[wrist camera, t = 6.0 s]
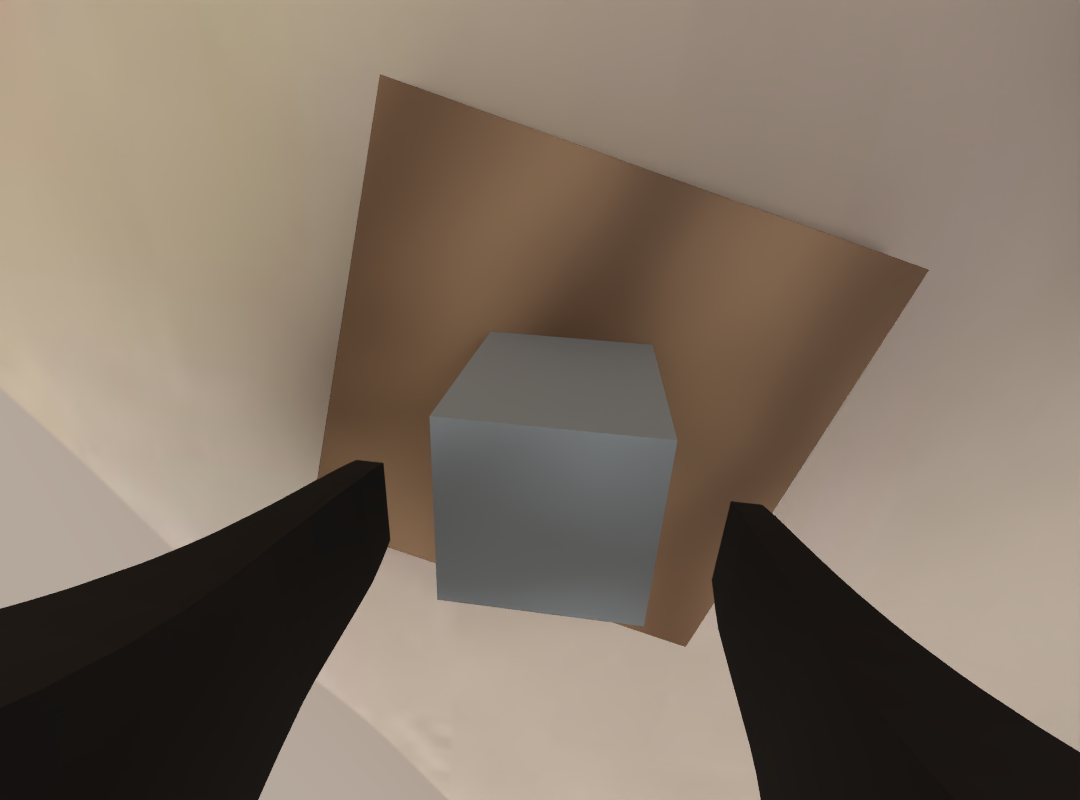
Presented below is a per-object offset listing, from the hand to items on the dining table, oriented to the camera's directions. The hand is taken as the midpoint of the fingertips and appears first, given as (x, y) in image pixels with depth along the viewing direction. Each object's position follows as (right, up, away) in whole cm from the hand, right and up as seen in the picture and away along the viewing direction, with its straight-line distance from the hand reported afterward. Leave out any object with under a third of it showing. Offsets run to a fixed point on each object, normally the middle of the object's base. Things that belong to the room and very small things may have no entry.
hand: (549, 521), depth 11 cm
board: (+1, +3, +6) cm, 7 cm away
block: (+1, +2, +4) cm, 5 cm away
